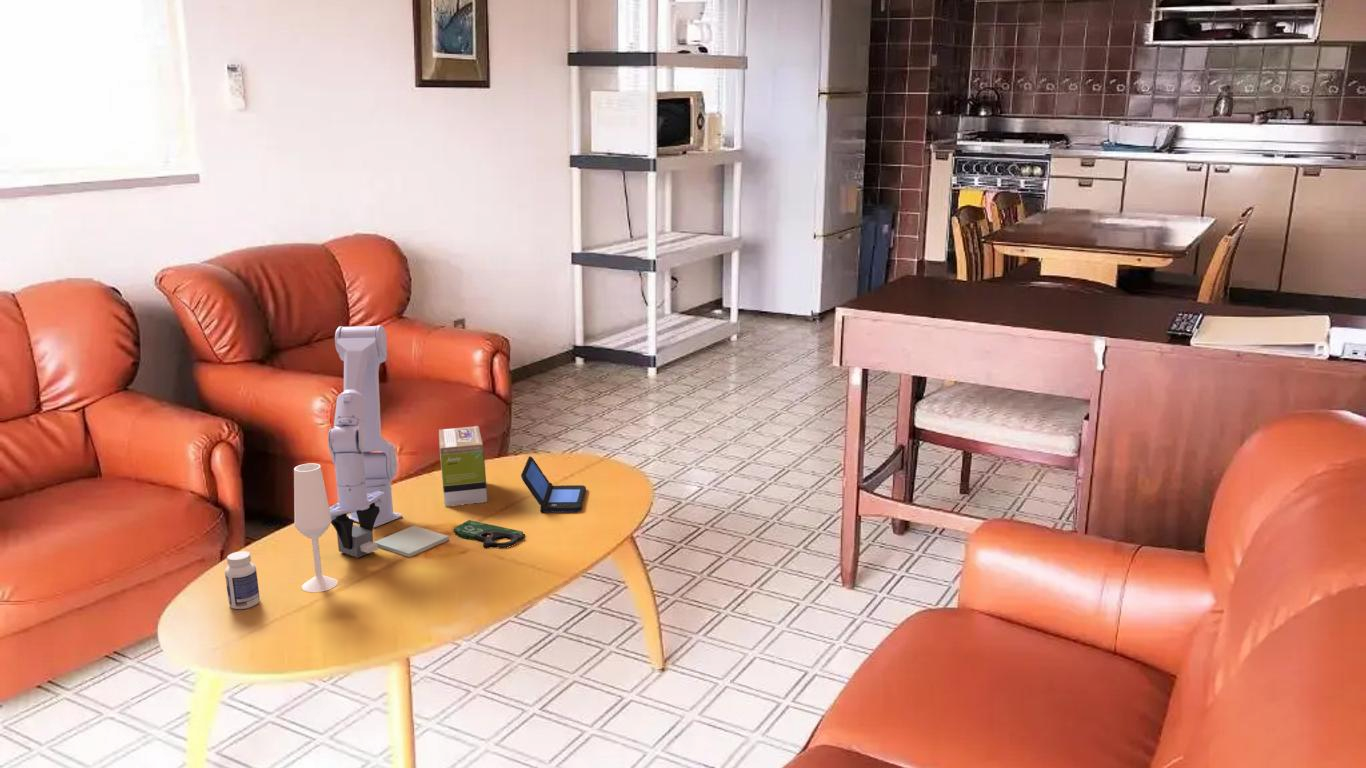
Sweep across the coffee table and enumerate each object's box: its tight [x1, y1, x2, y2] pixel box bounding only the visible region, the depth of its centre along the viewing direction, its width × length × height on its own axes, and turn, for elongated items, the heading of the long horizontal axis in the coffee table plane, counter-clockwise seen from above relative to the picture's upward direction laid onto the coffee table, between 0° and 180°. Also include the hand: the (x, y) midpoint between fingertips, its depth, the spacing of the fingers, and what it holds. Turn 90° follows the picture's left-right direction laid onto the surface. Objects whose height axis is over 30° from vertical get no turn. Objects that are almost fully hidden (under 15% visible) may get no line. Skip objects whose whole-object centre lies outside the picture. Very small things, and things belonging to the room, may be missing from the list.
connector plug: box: [336, 524, 379, 559], centre depth 224 cm, size 8×4×4 cm, turn 55°
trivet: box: [373, 525, 450, 558], centre depth 230 cm, size 11×11×1 cm
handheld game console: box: [520, 456, 587, 514], centre depth 252 cm, size 16×13×9 cm
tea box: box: [438, 425, 488, 507], centre depth 256 cm, size 15×10×15 cm
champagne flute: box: [293, 462, 339, 593], centre depth 207 cm, size 7×7×24 cm
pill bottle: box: [224, 550, 261, 610], centre depth 201 cm, size 5×5×10 cm
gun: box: [453, 519, 526, 549], centre depth 232 cm, size 16×1×10 cm
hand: (357, 544), depth 224 cm, fingers closed on connector plug, 4 cm apart
